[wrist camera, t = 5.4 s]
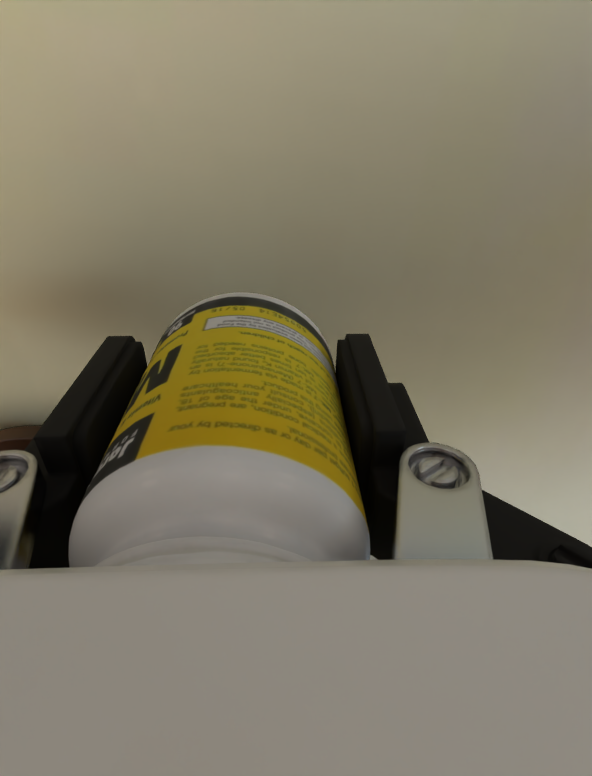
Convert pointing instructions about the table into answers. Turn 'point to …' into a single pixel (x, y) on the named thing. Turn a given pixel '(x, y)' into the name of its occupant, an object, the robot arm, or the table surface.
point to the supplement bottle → (228, 449)
